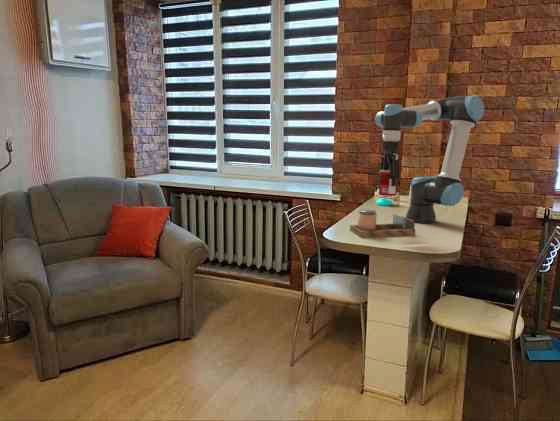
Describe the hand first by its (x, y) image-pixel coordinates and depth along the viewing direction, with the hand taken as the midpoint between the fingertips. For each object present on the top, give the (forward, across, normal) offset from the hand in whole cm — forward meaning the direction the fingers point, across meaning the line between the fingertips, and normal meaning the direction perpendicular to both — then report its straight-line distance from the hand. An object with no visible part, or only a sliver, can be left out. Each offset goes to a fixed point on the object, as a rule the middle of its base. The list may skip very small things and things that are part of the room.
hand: (387, 192), depth 194 cm
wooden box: (+19, 0, -2) cm, 19 cm away
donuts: (+19, -74, +33) cm, 83 cm away
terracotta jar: (+18, +1, -9) cm, 21 cm away
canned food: (+1, 0, 0) cm, 1 cm away
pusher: (+18, 0, +8) cm, 20 cm away
